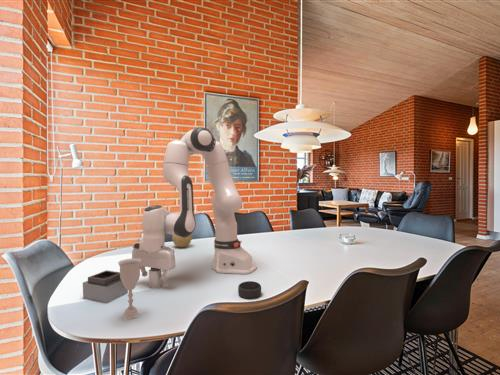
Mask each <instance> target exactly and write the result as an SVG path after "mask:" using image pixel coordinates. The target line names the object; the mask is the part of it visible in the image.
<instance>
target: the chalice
mask: <svg viewBox="0 0 500 375" xmlns="http://www.w3.org/2000/svg"><path fill="white" fill-rule="evenodd" d="M140 263H141V260H140V259H132V258H126V259H121V260H119V261H118V262H117V265H119V272H120V279H121V281H122V283H123V285H124V287H125V288H126V289H127V290H128V295H127V297H128V300H127V302H128V307H127V308H125V310H124V312H123V315H122V318H123V319H124V320H131V319H135V318H137V317H139V315H140V312H139V311H138V308H137V307H136V306H133V302H134V299H133V297H134V294H133V290H135V289H136V286H137V284H138V282H139V280H140V276H141V270H140Z"/></svg>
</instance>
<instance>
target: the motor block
mask: <svg viewBox="0 0 500 375" xmlns="http://www.w3.org/2000/svg"><path fill="white" fill-rule="evenodd" d="M127 293H128V294H129V290H127V289H126V288H125V287H124V285H123V283H122V281H121V279H120V271H113V270H104V271H101V272H99V273H96V274H93V275H91V276H88V277H87V280H86V281H84V282H83V281H82V298H83V299H85V300H90V301H95V302H99V303H105V304H108V303H110V302H112V301H114V300H116V299H118V298H120V297H123V296H124V295H126V294H127Z"/></svg>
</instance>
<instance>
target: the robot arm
mask: <svg viewBox="0 0 500 375" xmlns="http://www.w3.org/2000/svg"><path fill="white" fill-rule="evenodd" d="M197 154H200V155H201V156H202V158H203V161H204V164H205V169H206V172H207V177H208V181H209V183H210V185H211V187H212V189H213V192H214V193H213V194H212V195H211V198H210V200H211V205H212V212H213V218H214V232H215V233H214V235H215V236H214V238H215V239H213V240H214V245H213V246H214V256H213V257H214V258H213V263H212V269H213V270H214V271H215V273H218V274H233V275H235V274H236V275H237V274H238V275H248V274H252V273H253V272H255V270H257V268H258V265H257V264H256V263H254V262H253V257H252V255H251V254H250V253H249V252H248V251H246V250H245V249H244V248H243V247H242V246H241V244H242V243H243V242H242V241H243V240H239V239H238V222H237V221H236V215H235V213H237V212H238V211H240V209H241V208H242V206H243V199H242V197H241V195H240V193H239V192H238V189H237V187H236V184H235V182H234V179H233V177H232V174H231V170H230V164H229V162H228V158H227V154H226V152H225V149H224V147H223V144H222V142H220V141H217V140H216V139H215V137H214V135H213V133H212V131H210V129H208V128H206V127H205V126H204V127H201V126H200V127H196V128H194V129H190V130H189V131H187V132H186V133H184V134H183V135H182V136H181V137H179V139H178V140H176V139H175V140H172V141H170V142H168V143H167V146H166V148H165V153H164V157H163V162H162V176H163V179H164V180H165V182H167V183H168V184H170V185H172V186H173V187H174V188H176V189H177V191H178V194H179V212H175V211H173V212H172V211H170V210H167V209H165V208H164V207H163V206H162V205H159V204H158V205H157V204H156V205H151V206H150V205H149V206H148V207H145V209H144V210H143V213H142V220H141V226H142V227H141V228H142V231H143V234H142V239H141V240H140V241H138V242H134V243H132V244H131V245H132V252H131V259H140V260H141V263H140V273H141V276H142V277H147V276H149V271H147V270H146V267H147V268H150V269H151V268H157V269H161V271H162V275H160V279H162V281H163V280H165V279H166V278H167V277H166V274H167V273H168V272H169V271H171V270H174V269H175V268H176V265H177V263H176V256H175V250H174V248H172V246H166V244H165V241H166V240H165V236H166V235H165V234H167V235H171V236H172V235H177V236H180V237H188V236H189V235H191V234H192V235H193V233H194V231H195V229H196V226H197V225H196V224H197V222H196V217H195V211H194V210H195V207H194V204H195V203H194V185H193V180H192V178H191V177H190V174H189V162H190V158H191V156H192V155H197Z"/></svg>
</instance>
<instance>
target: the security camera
mask: <svg viewBox="0 0 500 375" xmlns="http://www.w3.org/2000/svg"><path fill="white" fill-rule="evenodd" d="M162 273H163V272H162V269H157V268H151V267H150V269H149V270H148V287H149V289H151V290H157V289H160V288H162V286H163V284H162V281H163V280H162V279H160V275H162Z"/></svg>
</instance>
